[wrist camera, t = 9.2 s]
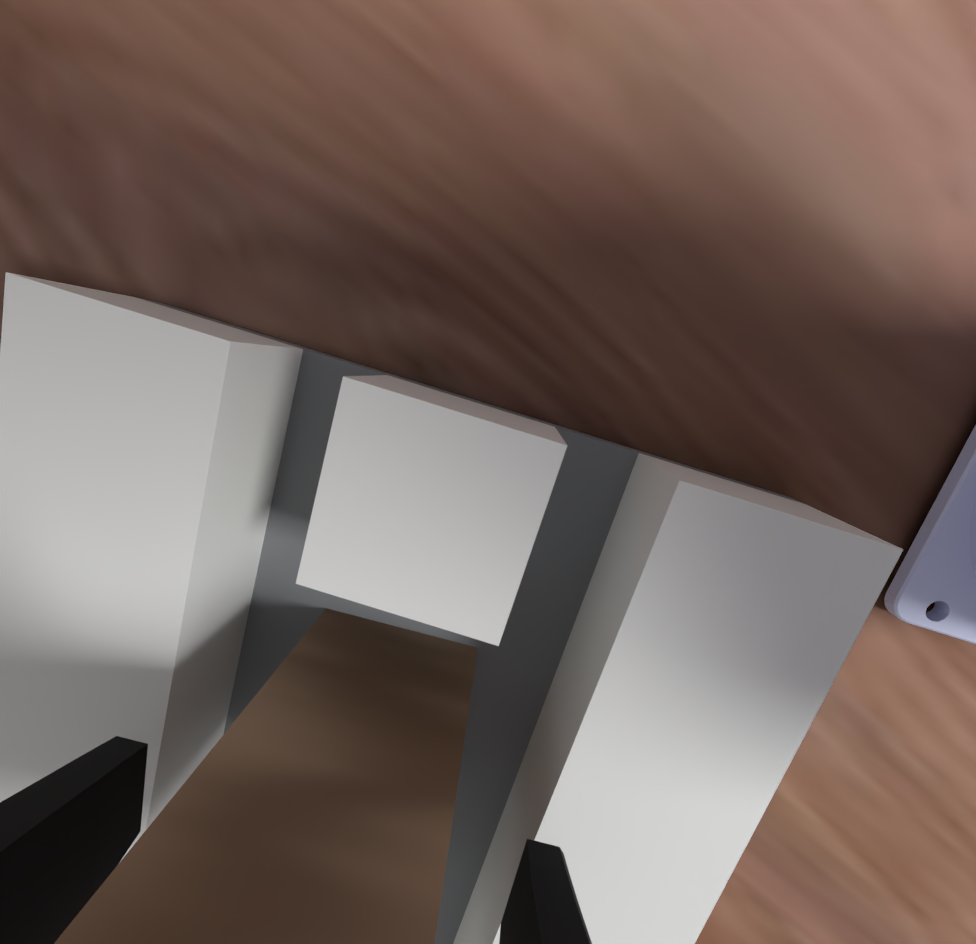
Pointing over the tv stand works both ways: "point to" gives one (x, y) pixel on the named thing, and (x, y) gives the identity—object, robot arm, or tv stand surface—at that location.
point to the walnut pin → (309, 805)
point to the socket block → (408, 593)
